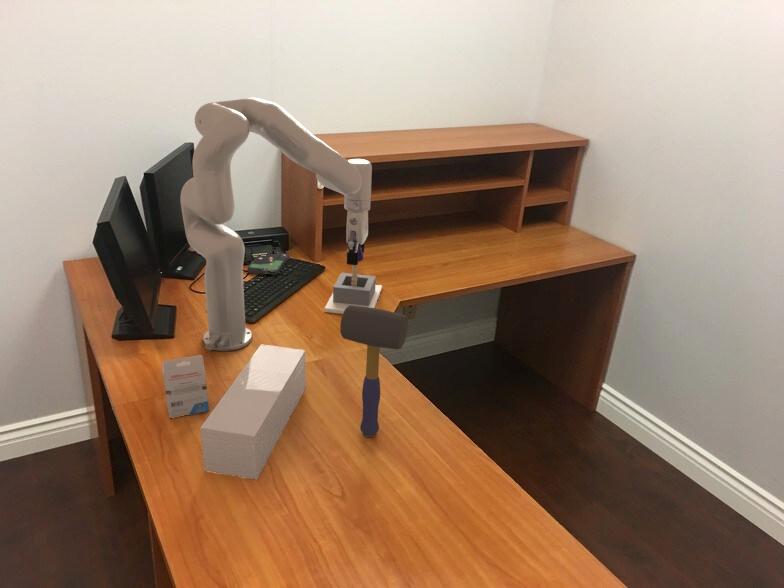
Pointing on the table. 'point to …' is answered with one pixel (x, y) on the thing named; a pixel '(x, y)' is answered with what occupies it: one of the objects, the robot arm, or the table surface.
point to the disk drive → (268, 263)
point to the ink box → (185, 386)
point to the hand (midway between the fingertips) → (355, 258)
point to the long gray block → (254, 412)
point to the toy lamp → (356, 266)
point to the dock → (353, 293)
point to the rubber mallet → (373, 351)
